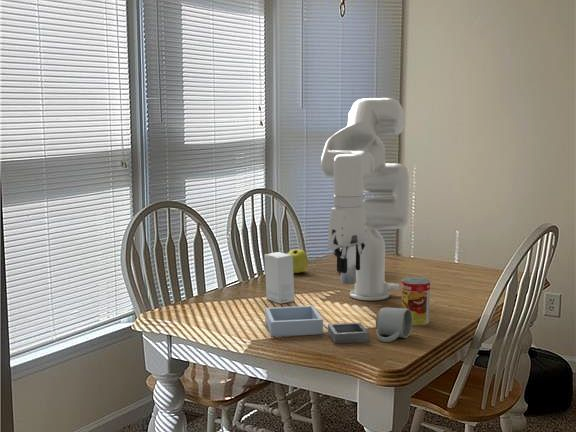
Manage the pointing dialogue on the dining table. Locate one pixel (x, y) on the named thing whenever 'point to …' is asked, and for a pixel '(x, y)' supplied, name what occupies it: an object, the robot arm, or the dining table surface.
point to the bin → (293, 321)
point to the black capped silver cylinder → (350, 263)
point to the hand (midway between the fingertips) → (348, 269)
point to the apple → (299, 260)
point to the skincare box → (279, 277)
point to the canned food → (417, 298)
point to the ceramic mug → (393, 323)
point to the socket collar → (348, 333)
